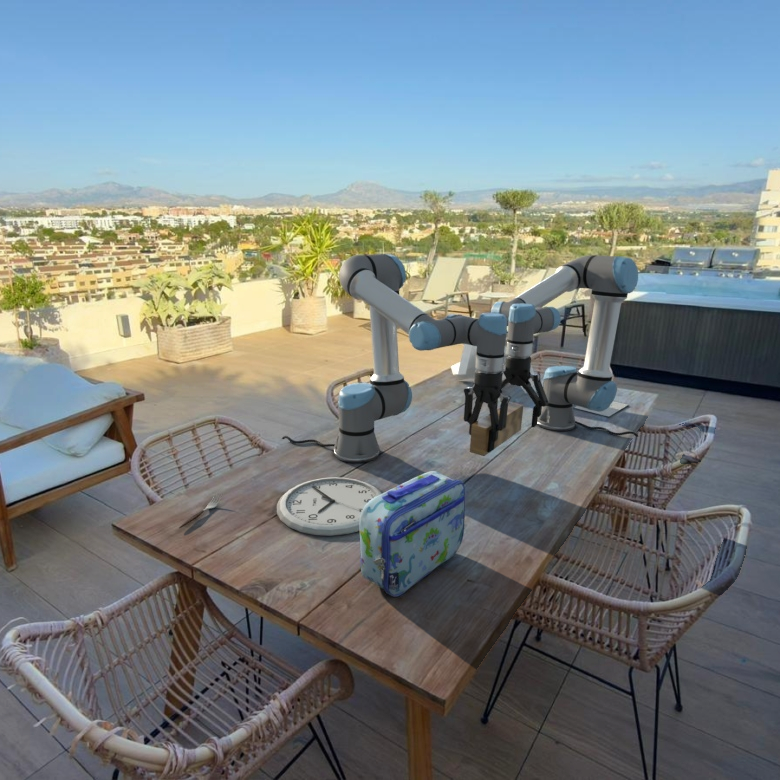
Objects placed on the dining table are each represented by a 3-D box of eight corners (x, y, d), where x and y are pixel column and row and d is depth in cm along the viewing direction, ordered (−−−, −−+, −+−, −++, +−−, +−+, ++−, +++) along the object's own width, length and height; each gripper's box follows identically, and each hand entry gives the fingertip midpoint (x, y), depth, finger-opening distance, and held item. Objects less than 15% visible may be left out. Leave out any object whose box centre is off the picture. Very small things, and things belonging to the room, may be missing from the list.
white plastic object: (472, 423, 260) (450, 400, 235) (454, 348, 282) (432, 320, 258) (544, 398, 248) (529, 371, 223) (519, 323, 270) (503, 291, 245)
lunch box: (388, 609, 104) (390, 516, 98) (353, 583, 111) (352, 496, 105) (468, 555, 122) (474, 474, 115) (433, 536, 129) (437, 458, 123)
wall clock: (392, 527, 129) (268, 531, 127) (391, 533, 130) (269, 537, 127) (383, 473, 158) (282, 475, 155) (383, 478, 158) (282, 480, 156)
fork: (174, 529, 130) (174, 521, 130) (216, 499, 144) (215, 492, 144) (183, 531, 129) (182, 524, 129) (223, 501, 144) (223, 494, 143)
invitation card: (608, 416, 214) (573, 407, 224) (608, 416, 214) (573, 408, 224) (628, 404, 229) (594, 396, 238) (628, 405, 229) (594, 397, 238)
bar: (507, 426, 169) (510, 401, 166) (520, 430, 166) (523, 404, 164) (469, 452, 150) (471, 424, 147) (484, 456, 147) (486, 428, 144)
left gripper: (454, 367, 146) (449, 444, 153) (513, 379, 136) (504, 461, 143) (467, 362, 151) (461, 436, 158) (524, 373, 141) (516, 452, 149)
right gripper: (476, 352, 162) (472, 415, 169) (554, 364, 148) (547, 433, 155) (487, 347, 168) (483, 409, 175) (563, 359, 154) (556, 426, 161)
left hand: (482, 448), depth 151 cm, fingers closed on bar, 5 cm apart
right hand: (513, 421), depth 165 cm, fingers open, 13 cm apart
